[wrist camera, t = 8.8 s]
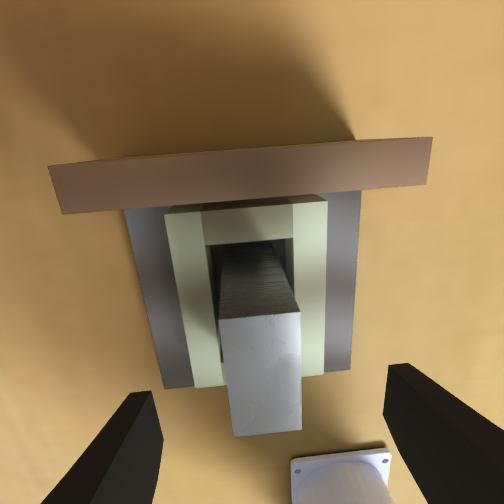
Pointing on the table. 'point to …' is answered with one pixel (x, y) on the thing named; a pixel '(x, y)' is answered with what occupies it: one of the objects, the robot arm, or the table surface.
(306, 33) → the table surface
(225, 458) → the table surface
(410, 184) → the gray base with frame
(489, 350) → the table surface
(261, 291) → the thick gray slab
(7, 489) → the table surface
